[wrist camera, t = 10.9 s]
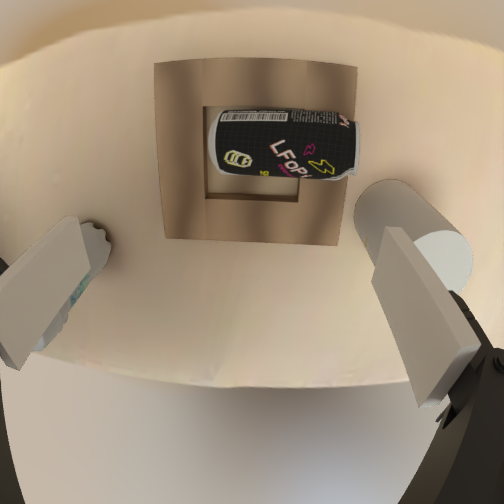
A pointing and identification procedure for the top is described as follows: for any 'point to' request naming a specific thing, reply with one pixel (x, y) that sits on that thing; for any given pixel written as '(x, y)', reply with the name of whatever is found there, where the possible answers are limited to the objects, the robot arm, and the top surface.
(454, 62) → the top surface
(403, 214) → the cup
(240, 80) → the socket block
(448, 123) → the top surface
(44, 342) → the bottle
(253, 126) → the beverage can
